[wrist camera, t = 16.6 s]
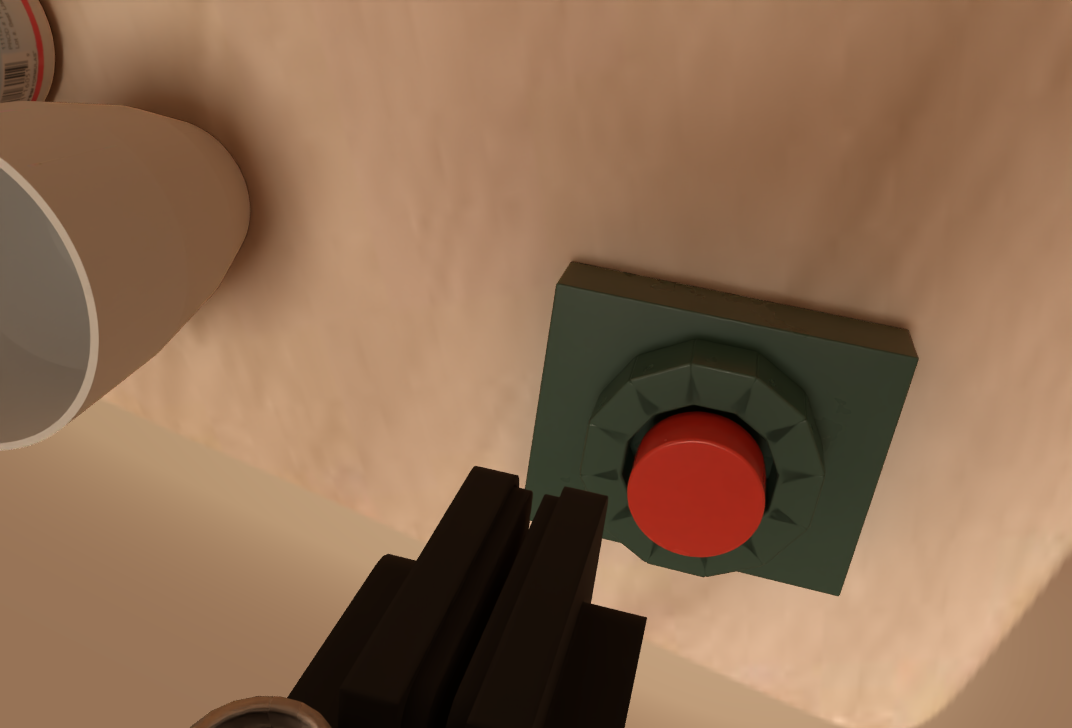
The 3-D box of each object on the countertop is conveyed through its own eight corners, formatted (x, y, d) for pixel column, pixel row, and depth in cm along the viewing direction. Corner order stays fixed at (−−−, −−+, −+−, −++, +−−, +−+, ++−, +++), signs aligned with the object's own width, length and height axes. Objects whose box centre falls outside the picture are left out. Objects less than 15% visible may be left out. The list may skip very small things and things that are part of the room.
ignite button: (779, 426, 26) (779, 456, 24) (749, 536, 27) (747, 572, 26) (647, 397, 26) (639, 425, 25) (624, 507, 28) (616, 540, 26)
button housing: (909, 329, 27) (929, 385, 24) (835, 556, 31) (843, 635, 27) (571, 260, 29) (542, 304, 25) (535, 484, 32) (506, 550, 29)
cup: (23, 164, 32) (-270, 246, 23) (175, 10, 29) (-97, 35, 20) (183, 355, 33) (-32, 502, 24) (345, 230, 30) (165, 346, 21)
